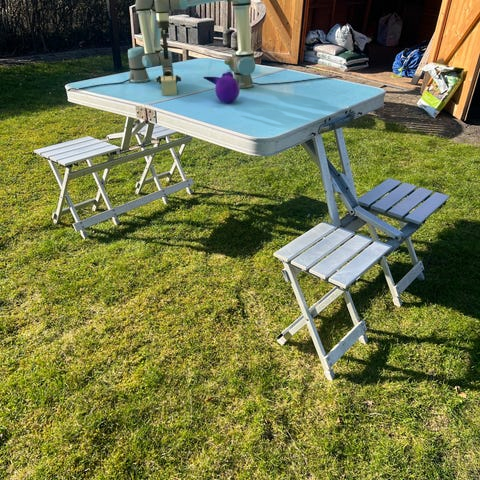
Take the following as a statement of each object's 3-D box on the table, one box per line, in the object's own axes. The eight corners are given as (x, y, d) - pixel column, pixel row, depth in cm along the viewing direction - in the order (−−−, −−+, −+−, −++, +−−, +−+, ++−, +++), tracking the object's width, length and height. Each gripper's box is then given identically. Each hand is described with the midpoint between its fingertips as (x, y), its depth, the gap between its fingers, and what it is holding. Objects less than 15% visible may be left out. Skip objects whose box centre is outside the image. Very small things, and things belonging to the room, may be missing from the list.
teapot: (228, 72, 362) (227, 52, 355) (221, 70, 371) (220, 50, 364) (250, 69, 372) (250, 50, 364) (243, 67, 380) (243, 48, 373)
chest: (177, 94, 297) (175, 81, 293) (162, 95, 296) (161, 81, 291) (176, 90, 308) (175, 77, 304) (162, 91, 307) (161, 77, 303)
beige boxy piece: (175, 81, 292) (174, 67, 288) (161, 81, 291) (159, 68, 287) (175, 77, 304) (174, 64, 300) (161, 77, 303) (159, 65, 298)
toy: (226, 94, 295) (239, 108, 274) (200, 89, 287) (212, 104, 267) (231, 69, 287) (246, 82, 266) (206, 64, 279) (218, 77, 259)
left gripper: (184, 80, 324) (185, 87, 305) (153, 82, 322) (152, 88, 302) (183, 69, 320) (184, 75, 301) (152, 71, 318) (151, 77, 299)
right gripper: (169, 22, 266) (172, 60, 277) (168, 19, 287) (171, 54, 298) (156, 22, 265) (160, 60, 276) (156, 19, 286) (160, 54, 297)
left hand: (168, 82), depth 302 cm, fingers closed on chest, 9 cm apart
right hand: (166, 57), depth 287 cm, fingers open, 13 cm apart
